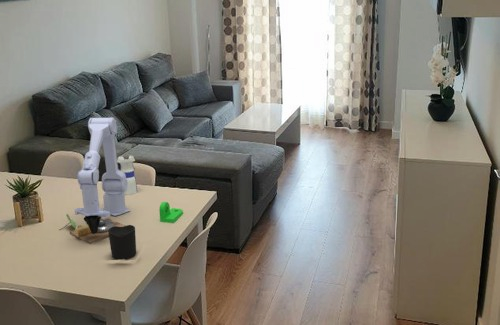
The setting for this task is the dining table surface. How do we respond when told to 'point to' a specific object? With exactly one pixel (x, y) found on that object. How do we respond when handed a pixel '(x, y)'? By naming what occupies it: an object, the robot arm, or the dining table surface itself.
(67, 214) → the seedling
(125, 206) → the robot arm
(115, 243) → the pen holder
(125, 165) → the water bottle
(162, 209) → the mechanical part
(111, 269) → the dining table surface
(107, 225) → the pan with wooden handle
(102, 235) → the board
